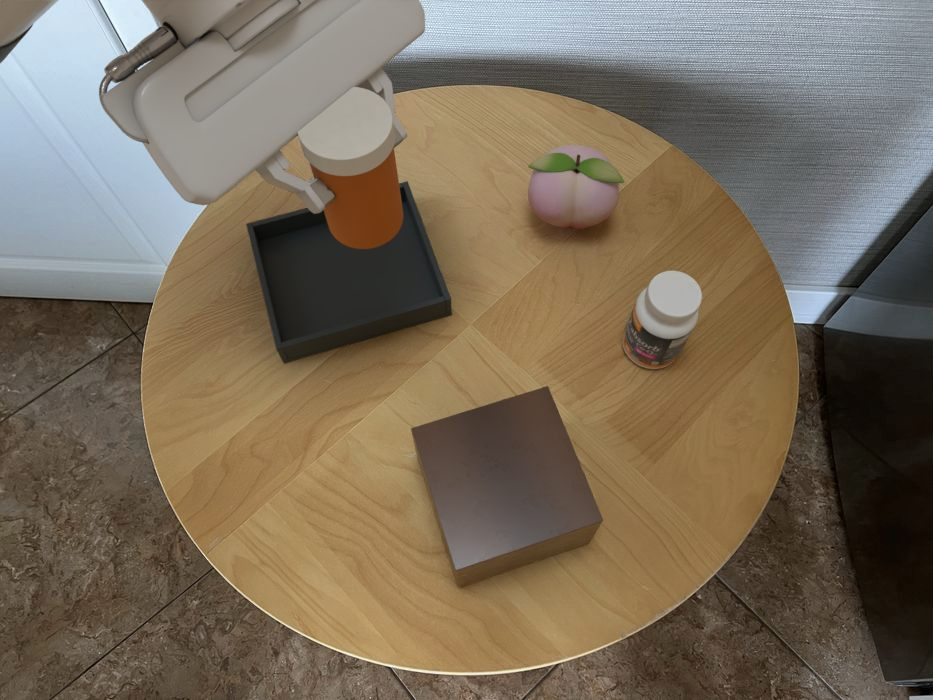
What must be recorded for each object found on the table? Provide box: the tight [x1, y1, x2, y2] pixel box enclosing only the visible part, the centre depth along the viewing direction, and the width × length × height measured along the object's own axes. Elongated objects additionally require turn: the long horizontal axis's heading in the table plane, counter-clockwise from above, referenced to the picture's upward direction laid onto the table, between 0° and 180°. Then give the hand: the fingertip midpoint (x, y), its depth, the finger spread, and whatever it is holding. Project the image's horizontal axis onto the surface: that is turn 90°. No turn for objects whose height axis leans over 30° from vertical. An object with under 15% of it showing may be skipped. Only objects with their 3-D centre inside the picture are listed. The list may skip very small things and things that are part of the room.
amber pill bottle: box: [297, 87, 403, 249], centre depth 51 cm, size 6×6×10 cm
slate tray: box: [245, 180, 453, 364], centre depth 76 cm, size 17×15×3 cm
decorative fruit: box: [527, 144, 625, 229], centre depth 76 cm, size 9×8×10 cm
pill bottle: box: [621, 270, 703, 370], centre depth 69 cm, size 6×6×10 cm
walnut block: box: [410, 385, 604, 589], centre depth 63 cm, size 12×12×8 cm
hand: (362, 174), depth 51 cm, fingers closed on amber pill bottle, 5 cm apart
